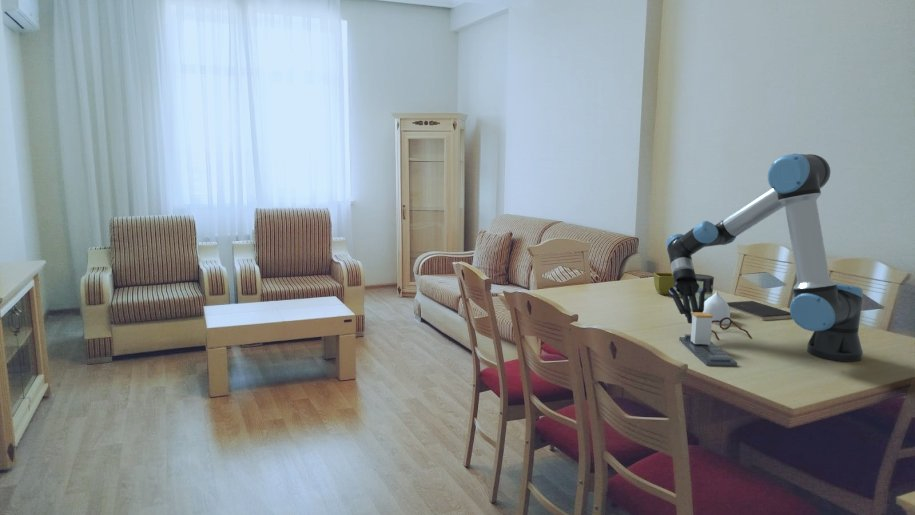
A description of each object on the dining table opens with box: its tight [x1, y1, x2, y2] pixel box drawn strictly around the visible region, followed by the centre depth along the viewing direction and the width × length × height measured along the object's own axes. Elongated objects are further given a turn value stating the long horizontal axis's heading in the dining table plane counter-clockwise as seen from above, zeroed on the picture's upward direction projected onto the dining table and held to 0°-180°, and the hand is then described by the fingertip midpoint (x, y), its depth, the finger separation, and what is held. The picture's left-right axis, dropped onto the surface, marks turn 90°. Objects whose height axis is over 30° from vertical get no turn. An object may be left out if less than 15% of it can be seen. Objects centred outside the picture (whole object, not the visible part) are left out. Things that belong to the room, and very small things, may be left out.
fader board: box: [678, 333, 738, 367], centre depth 199 cm, size 26×9×2 cm, turn 178°
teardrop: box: [703, 290, 731, 325], centre depth 238 cm, size 11×11×12 cm
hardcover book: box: [726, 300, 792, 321], centre depth 253 cm, size 16×23×2 cm
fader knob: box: [690, 311, 713, 344], centre depth 204 cm, size 4×5×10 cm
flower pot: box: [653, 272, 675, 296], centre depth 285 cm, size 9×9×9 cm
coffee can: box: [688, 273, 715, 312], centre depth 255 cm, size 10×10×14 cm
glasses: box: [711, 317, 753, 341], centre depth 220 cm, size 13×13×5 cm
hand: (696, 331), depth 208 cm, fingers closed
